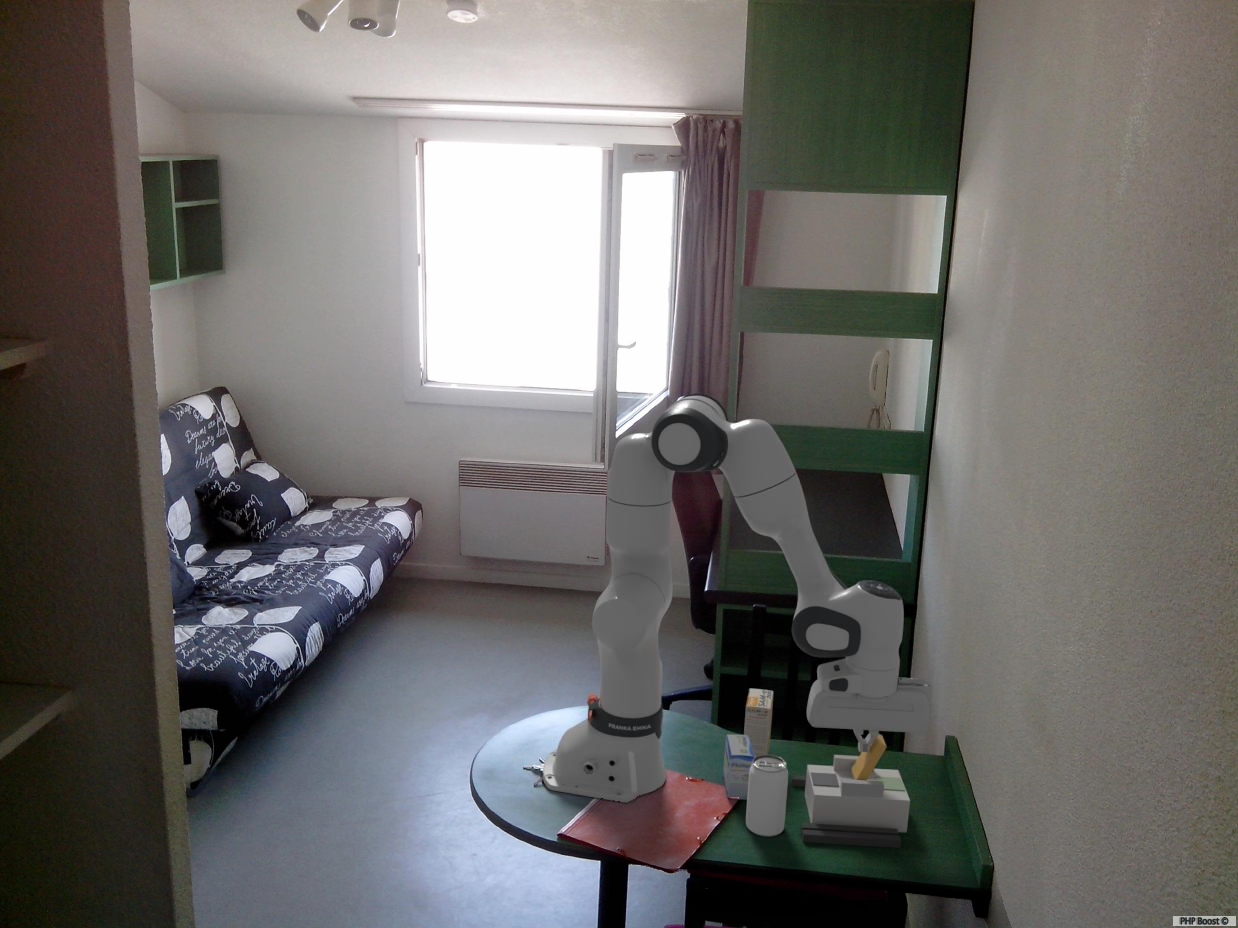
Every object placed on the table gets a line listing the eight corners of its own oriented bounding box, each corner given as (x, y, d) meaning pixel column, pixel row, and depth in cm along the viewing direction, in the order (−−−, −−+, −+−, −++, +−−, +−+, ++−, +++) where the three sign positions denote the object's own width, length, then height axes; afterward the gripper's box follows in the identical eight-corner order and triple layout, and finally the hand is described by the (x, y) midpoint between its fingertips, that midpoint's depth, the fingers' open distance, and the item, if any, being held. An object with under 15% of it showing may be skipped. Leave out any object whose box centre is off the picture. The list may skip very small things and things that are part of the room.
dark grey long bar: (791, 785, 191) (792, 778, 191) (791, 781, 192) (791, 774, 192) (880, 791, 190) (881, 784, 190) (879, 787, 192) (879, 780, 191)
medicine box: (722, 776, 194) (725, 733, 192) (746, 776, 194) (749, 734, 192) (727, 799, 186) (730, 755, 184) (752, 800, 186) (755, 755, 184)
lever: (854, 787, 179) (879, 745, 177) (848, 770, 184) (873, 729, 182) (862, 790, 179) (887, 749, 177) (857, 773, 184) (881, 733, 182)
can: (783, 840, 174) (789, 774, 172) (744, 835, 175) (749, 770, 173) (784, 818, 181) (789, 755, 178) (746, 814, 182) (750, 751, 179)
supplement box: (766, 773, 195) (771, 709, 192) (740, 770, 196) (745, 705, 193) (769, 752, 203) (774, 689, 200) (744, 749, 204) (749, 686, 201)
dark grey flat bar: (802, 841, 174) (803, 834, 174) (800, 829, 177) (801, 822, 177) (900, 847, 173) (901, 840, 173) (896, 835, 177) (897, 828, 176)
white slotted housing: (811, 826, 179) (815, 781, 177) (804, 794, 188) (808, 752, 186) (906, 832, 178) (911, 787, 176) (894, 800, 188) (899, 757, 186)
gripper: (929, 671, 179) (921, 744, 183) (808, 665, 180) (802, 738, 184) (938, 687, 173) (929, 763, 177) (813, 680, 174) (807, 756, 178)
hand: (864, 750), depth 180 cm, fingers closed
